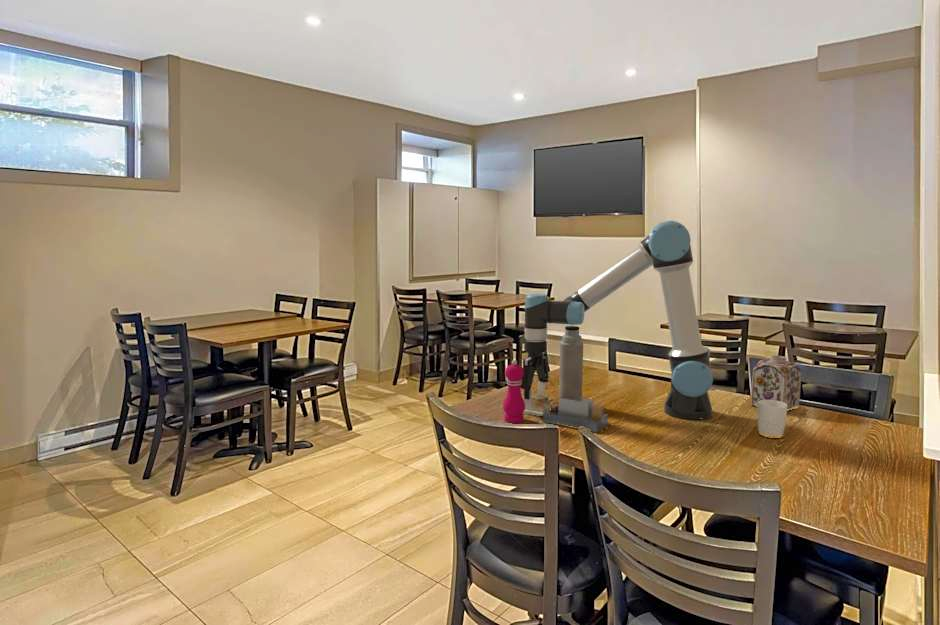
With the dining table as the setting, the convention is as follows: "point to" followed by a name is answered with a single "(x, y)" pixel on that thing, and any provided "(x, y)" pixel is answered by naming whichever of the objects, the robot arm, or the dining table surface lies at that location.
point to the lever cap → (540, 403)
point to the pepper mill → (514, 394)
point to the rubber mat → (533, 412)
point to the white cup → (771, 417)
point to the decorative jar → (776, 381)
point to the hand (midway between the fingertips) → (534, 404)
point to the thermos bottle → (571, 363)
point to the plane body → (576, 413)
